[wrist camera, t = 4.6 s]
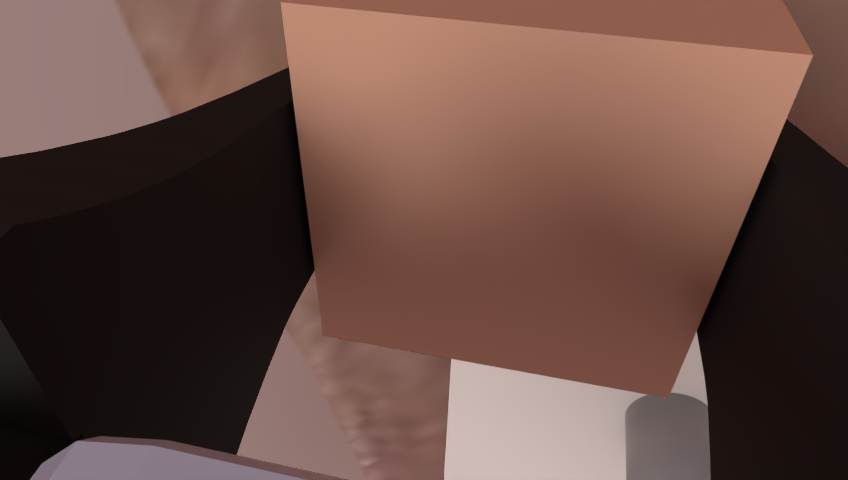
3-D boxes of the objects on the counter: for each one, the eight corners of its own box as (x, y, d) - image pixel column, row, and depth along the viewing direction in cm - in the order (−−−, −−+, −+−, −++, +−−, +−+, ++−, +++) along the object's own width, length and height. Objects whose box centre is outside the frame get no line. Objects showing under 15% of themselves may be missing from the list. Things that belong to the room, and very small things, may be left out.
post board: (1048, 275, 20) (1163, 428, 16) (813, 547, 31) (843, 676, 27) (465, 193, 23) (433, 304, 19) (447, 470, 34) (424, 576, 30)
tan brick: (749, -60, 9) (813, 54, 6) (655, 236, 13) (668, 398, 10) (376, -87, 10) (280, 2, 7) (385, 197, 14) (323, 335, 11)
